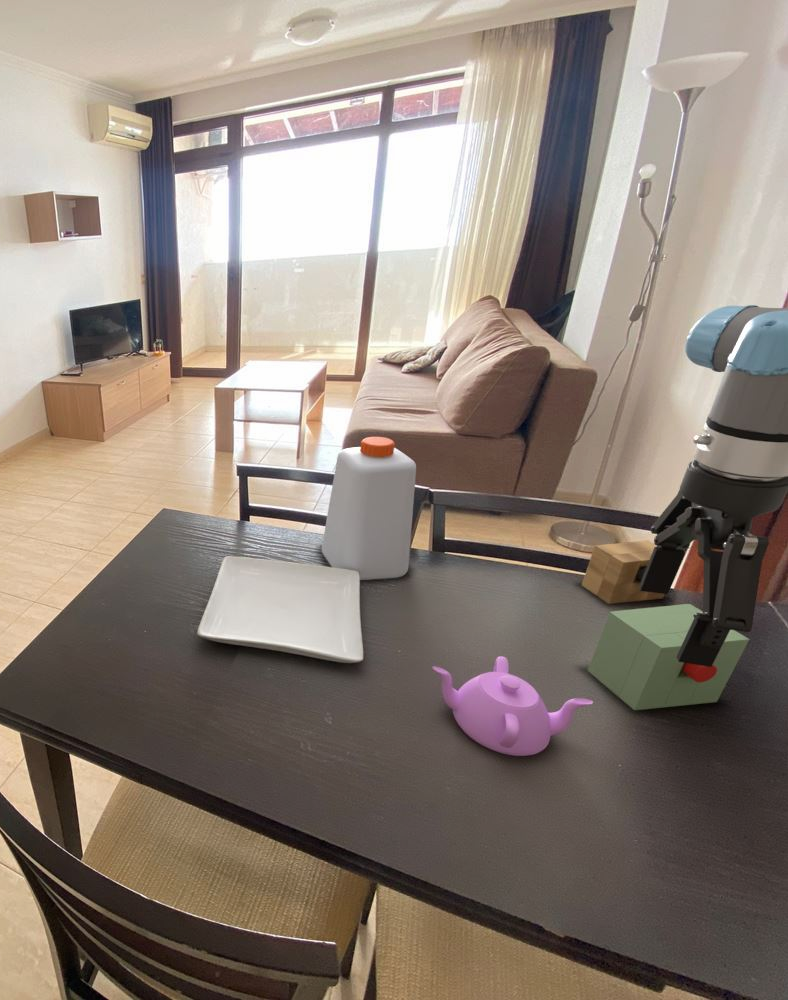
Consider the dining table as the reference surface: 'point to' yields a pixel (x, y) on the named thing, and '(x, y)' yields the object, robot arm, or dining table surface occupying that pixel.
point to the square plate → (286, 608)
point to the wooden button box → (619, 571)
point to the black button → (641, 574)
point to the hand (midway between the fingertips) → (671, 623)
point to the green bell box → (657, 658)
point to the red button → (699, 672)
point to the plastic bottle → (371, 510)
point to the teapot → (505, 711)
